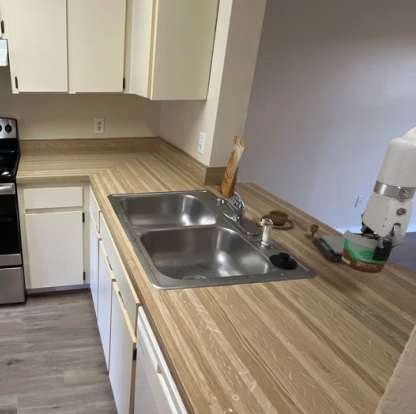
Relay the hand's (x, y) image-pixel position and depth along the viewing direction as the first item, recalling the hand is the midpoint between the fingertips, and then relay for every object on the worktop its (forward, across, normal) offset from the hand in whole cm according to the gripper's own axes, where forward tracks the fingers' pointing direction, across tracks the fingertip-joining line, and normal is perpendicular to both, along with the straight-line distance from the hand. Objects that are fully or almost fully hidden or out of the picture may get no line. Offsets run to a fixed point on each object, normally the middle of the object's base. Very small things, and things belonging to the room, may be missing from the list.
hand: (371, 252), depth 87 cm
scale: (+15, +25, -6) cm, 30 cm away
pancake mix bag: (+15, +80, +21) cm, 84 cm away
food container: (+5, 0, 0) cm, 5 cm away
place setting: (+15, +42, +7) cm, 45 cm away
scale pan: (+12, +25, -7) cm, 28 cm away
